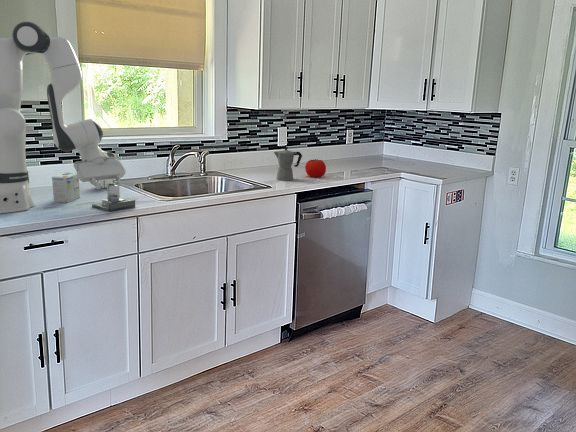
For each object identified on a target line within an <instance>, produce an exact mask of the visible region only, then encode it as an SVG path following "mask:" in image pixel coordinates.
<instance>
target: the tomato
mask: <svg viewBox="0 0 576 432" xmlns="http://www.w3.org/2000/svg"><path fill="white" fill-rule="evenodd" d="M304 169H305V172H306V175H307V176H308V177H311V178H322V177H324V176H325V174H326V172H327V165H326V162H324V161H323V160H322V159H319V158H317V159H310V160H308V161H307V162H306V163H305V167H304Z"/></svg>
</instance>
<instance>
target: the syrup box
mask: <svg viewBox="0 0 576 432" xmlns="http://www.w3.org/2000/svg"><path fill="white" fill-rule="evenodd" d="M96 182H97V183H100V184H101V186H102V188H101V189H107V185H109V184H115V179H107V180H98V181H96Z"/></svg>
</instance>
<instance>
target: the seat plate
mask: <svg viewBox="0 0 576 432" xmlns="http://www.w3.org/2000/svg"><path fill="white" fill-rule="evenodd" d="M92 207H93V208H96V209H99V210H103V211H106V212H108V213H109V212H110V213H112V212H117V211H122V210H127V209H132V208H136V199H133V198H132V199H129V200H128V199H127V200H125V201H122V202H117V203H111V204H108V206H106V205H103V204H102V202H99V203H93V204H92Z"/></svg>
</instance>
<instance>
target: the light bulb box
mask: <svg viewBox="0 0 576 432" xmlns="http://www.w3.org/2000/svg"><path fill="white" fill-rule="evenodd" d="M51 181H52V196H53V202H54V203H67V204H68V203H70V202H72V201H74V200H78V199H79V198H80V197H81V191H80V189H81V188H80V179H79V177H78V175H77V172H63V173H59V174H57V175H55V176H52V177H51Z"/></svg>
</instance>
